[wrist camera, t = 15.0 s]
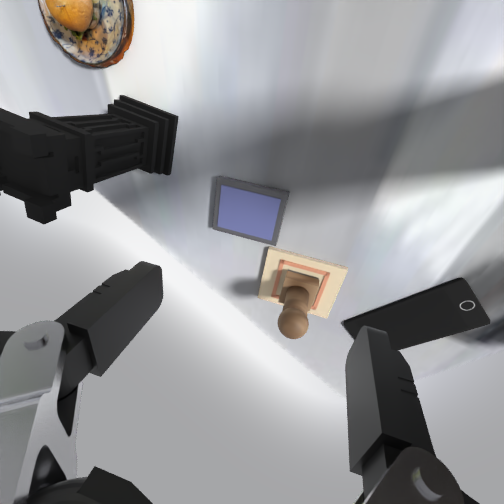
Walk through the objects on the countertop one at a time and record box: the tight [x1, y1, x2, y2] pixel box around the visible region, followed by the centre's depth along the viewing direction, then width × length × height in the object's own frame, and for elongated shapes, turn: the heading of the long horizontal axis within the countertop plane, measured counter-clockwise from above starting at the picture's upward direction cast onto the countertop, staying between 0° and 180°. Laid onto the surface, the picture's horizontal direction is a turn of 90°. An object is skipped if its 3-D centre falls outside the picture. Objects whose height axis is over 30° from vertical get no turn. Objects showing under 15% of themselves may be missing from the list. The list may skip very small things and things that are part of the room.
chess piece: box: [0, 95, 178, 224], centre depth 28 cm, size 8×8×20 cm
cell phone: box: [344, 278, 490, 351], centre depth 41 cm, size 9×18×1 cm, turn 130°
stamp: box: [278, 269, 319, 339], centre depth 37 cm, size 5×5×10 cm
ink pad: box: [213, 176, 289, 246], centre depth 38 cm, size 10×8×1 cm
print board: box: [258, 246, 348, 318], centre depth 42 cm, size 12×10×1 cm
